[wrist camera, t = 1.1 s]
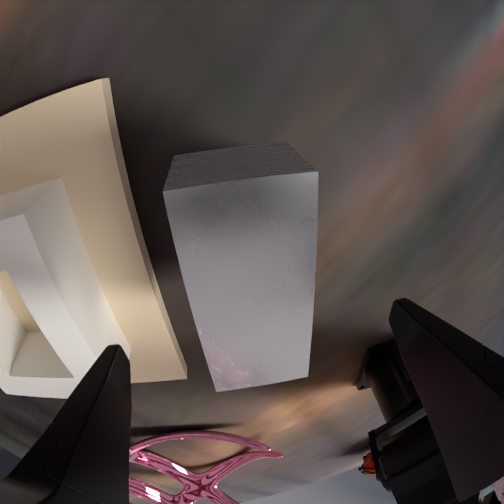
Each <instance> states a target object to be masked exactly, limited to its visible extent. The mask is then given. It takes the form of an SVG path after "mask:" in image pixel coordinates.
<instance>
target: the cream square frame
mask: <svg viewBox="0 0 504 504" xmlns="http://www.w3.org/2000/svg"><path fill="white" fill-rule="evenodd" d="M113 344H119V345H121V346H122V348H123V350H124V352H125V354H126V355H127V357H128V359H129V361H130V371H131V383H141V382H156V381H169V380H180V379H187V365H186V362H185V360H184V357H183V355H182V352H181V349H180V347H179V344H178V341H177V339H176V336H175V333H174V331H173V328H172V325H171V322H170V319H169V316H168V314H167V311H166V308H165V305H164V302H163V299H162V296H161V293H160V290H159V287H158V284H157V281H156V277H155V274H154V271H153V268H152V265H151V261H150V258H149V255H148V251H147V248H146V244H145V241H144V237H143V234H142V230H141V227H140V223H139V219H138V215H137V212H136V208H135V204H134V200H133V196H132V192H131V188H130V184H129V179H128V175H127V171H126V166H125V162H124V157H123V153H122V148H121V143H120V138H119V133H118V128H117V123H116V117H115V111H114V106H113V100H112V94H111V87H110V81H109V78H103V79H98V80H95V81H92V82H88V83H85V84H82V85H79V86H76V87H73V88H70V89H67V90H64V91H61V92H59V93H56V94H53V95H51V96H48V97H45V98H43V99H40V100H38V101H35V102H33V103H30V104H28V105H26V106H23V107H21V108H19V109H17V110H14V111H12V112H10V113H8V114H6V115H4V116H1V117H0V388H1V389H2V390H3V391H4V392H5V393H6V394H12V395H21V396H33V397H47V398H68V397H69V396H70V394H71V393H72V392H73V390H74V389H75V388H76V386H77V385H78V384H79V382H80V381H81V380H82V378H83V377H84V376H85V374H86V373H87V372H88V370H89V369H90V368H91V366H92V365H93V364H94V362H95V361H96V360H97V358H98V357H99V356H100V355H101V353H102V352H103V351H104V349H105V348H106V347H107V346H108V345H113Z"/></svg>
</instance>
